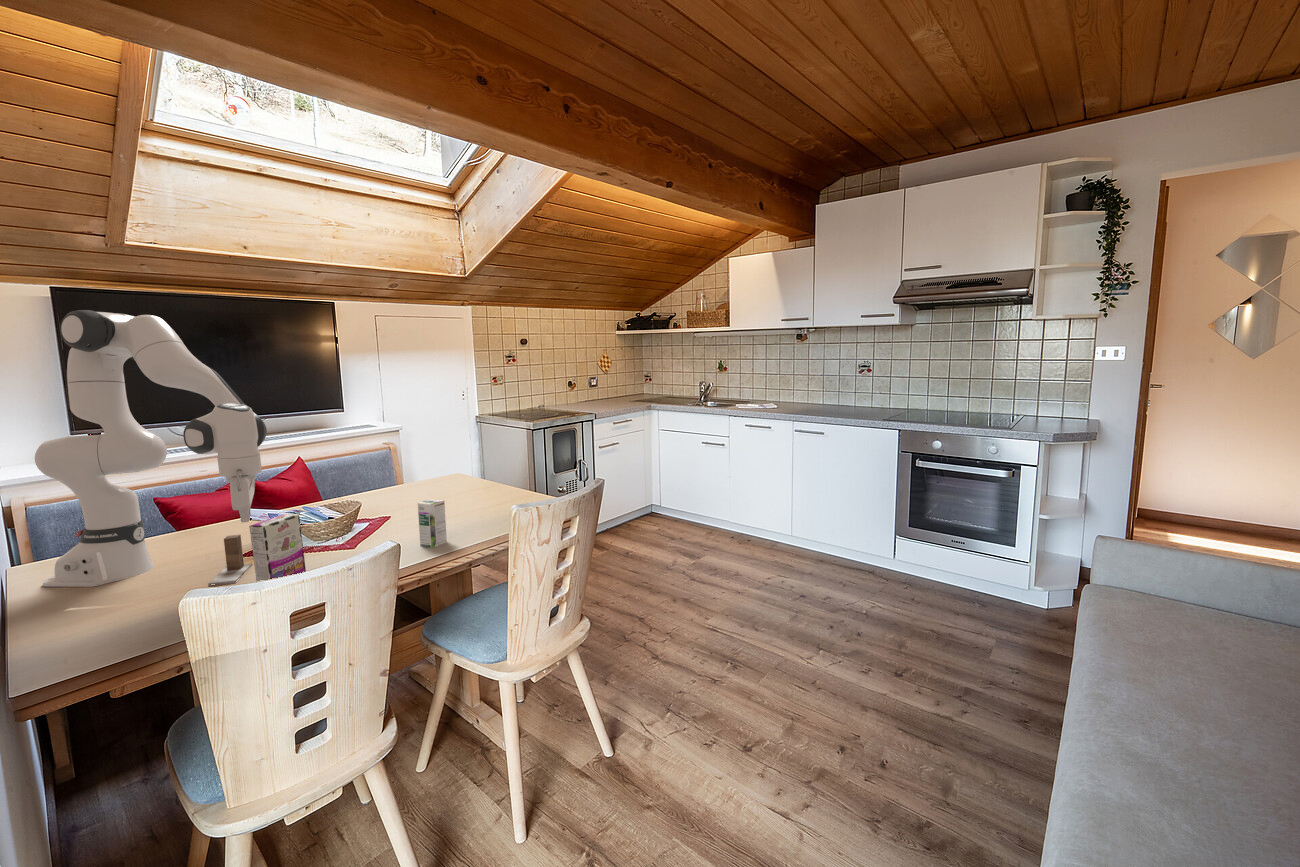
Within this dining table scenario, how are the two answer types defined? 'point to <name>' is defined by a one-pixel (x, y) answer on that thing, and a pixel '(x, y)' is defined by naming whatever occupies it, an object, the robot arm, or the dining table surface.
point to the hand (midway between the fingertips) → (246, 519)
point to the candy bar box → (277, 547)
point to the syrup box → (432, 523)
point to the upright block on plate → (231, 562)
